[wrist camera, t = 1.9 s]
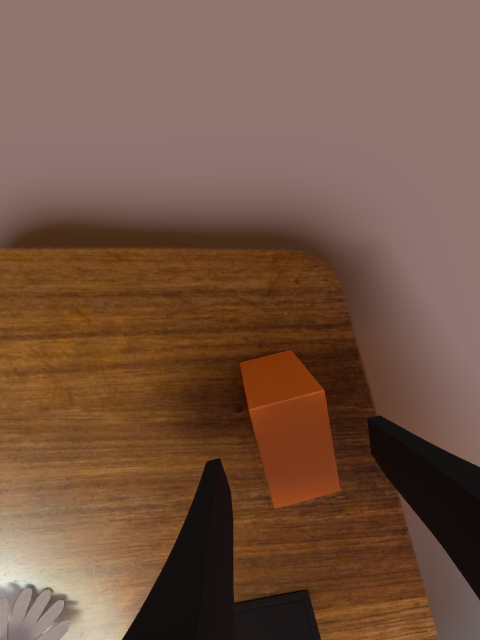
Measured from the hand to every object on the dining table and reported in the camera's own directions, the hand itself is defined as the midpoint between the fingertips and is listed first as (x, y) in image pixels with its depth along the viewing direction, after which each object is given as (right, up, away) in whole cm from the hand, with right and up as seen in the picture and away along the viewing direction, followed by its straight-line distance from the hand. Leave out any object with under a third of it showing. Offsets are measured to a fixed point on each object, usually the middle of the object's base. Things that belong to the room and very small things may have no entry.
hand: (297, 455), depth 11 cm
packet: (0, +1, +5) cm, 5 cm away
